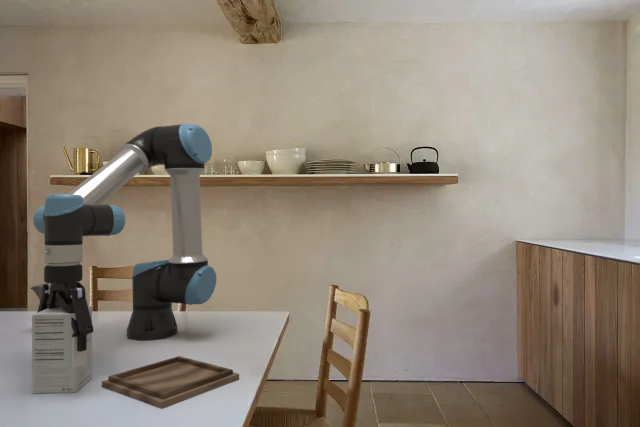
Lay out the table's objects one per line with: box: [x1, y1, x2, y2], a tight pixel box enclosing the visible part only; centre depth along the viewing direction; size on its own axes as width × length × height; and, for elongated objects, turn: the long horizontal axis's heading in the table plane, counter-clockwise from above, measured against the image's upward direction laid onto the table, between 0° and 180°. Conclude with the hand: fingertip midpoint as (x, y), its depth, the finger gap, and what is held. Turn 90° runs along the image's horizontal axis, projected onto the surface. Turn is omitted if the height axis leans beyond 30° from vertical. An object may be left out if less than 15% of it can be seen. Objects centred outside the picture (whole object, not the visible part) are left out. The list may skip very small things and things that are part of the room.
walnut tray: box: [101, 355, 240, 409], centre depth 110 cm, size 21×21×2 cm
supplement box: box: [31, 305, 93, 394], centre depth 108 cm, size 10×9×17 cm
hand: (62, 360), depth 108 cm, fingers open, 13 cm apart
